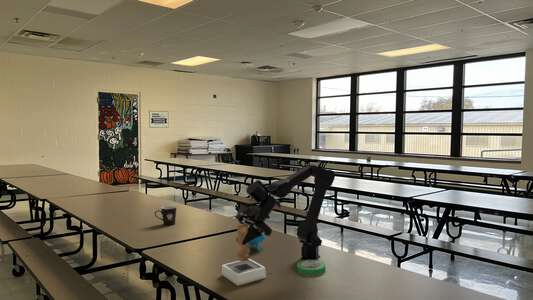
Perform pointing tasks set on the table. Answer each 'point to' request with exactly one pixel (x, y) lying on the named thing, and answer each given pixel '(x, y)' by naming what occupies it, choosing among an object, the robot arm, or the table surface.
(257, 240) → the blue figurine
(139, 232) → the table surface
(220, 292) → the table surface
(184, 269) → the table surface
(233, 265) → the bore box
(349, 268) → the table surface
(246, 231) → the peg
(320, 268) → the tape roll
